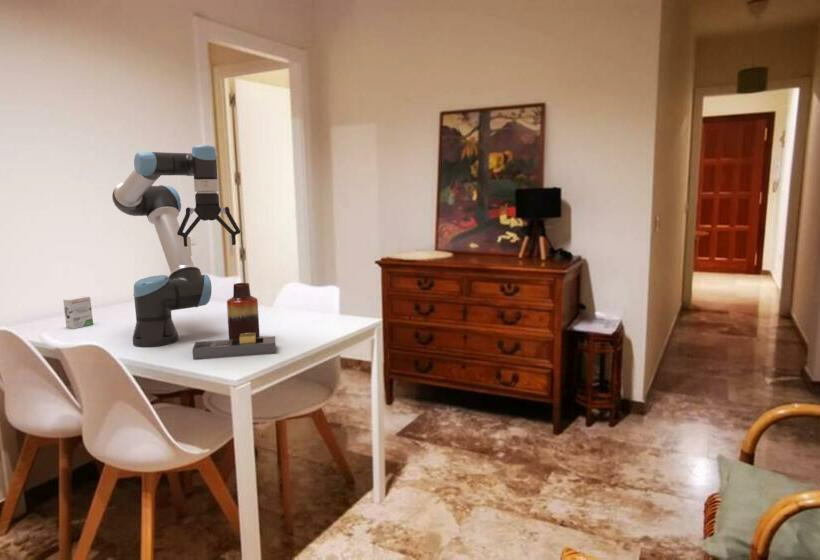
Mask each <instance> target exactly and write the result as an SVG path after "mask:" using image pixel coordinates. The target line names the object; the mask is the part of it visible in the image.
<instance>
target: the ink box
mask: <svg viewBox="0 0 820 560" xmlns="http://www.w3.org/2000/svg"><path fill="white" fill-rule="evenodd" d="M63 310H64V317H65V324H66V325H65V326H66V328H67V329H71V330H74V329H79V328H83V327H88V326H92V325H94V320H93V319H94V318H93V310H92V300H91V297H90V296H77V297H71V298H65V299H63Z"/></svg>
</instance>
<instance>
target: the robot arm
mask: <svg viewBox="0 0 820 560" xmlns="http://www.w3.org/2000/svg"><path fill="white" fill-rule="evenodd" d="M217 160H218V157H217V151H216V147H215V146H214V145H208V144H207V145H206V144H205V145H203V144H202V145H197V144H196V145H193V146H192V147H191V153H190V152H189V153H188V152H165V151H164V152H162V151H161V152H160V151H159V152H157V151H139V152H136V153H135V155H134V159H133V165H134V169H133V170H132V171H131V173H130V174H129V175H128V176H127V178H126V179H125V180H124V182H120V183H119V184H117V186H115V187H114V189H113V192H112V194H111V195H112V196H111V197H112V202H113V204H114V206H115V207H116V209H118V210H119V211H120V212H122V213H124V214H126V215H128V216H132V217H142V216H143V217H144V216H145V217H146V218H147V221H148V222H149V223H150V224H152V225H154V228H155V231H156V234H157V236H158V240H159V242H160V245H161V247H162V251H163V253H164V257H165V259H166V262H167V266H168V268H169V271H170V274H169V275H166V274H160V275H154V276H153V275H152V276H148V277H143V278H140V279H138V280H137V281H135V282H134V284H133V298H134V299H133V300H134V308H135V319H136V323H135V327H134V330H133V335H132V345H133V346H135V347H142V348H143V347H145V348H146V347H148V348H149V347H150V348H151V347H158V346H165V345H169V344H173V343H175V342H177V341H178V340H179V333H178V330H177V327H176V326H175V323H174V320H173V318H172V311H178V310H185V309H191V308H198V307H203V306H206V305H207V304H209V302H210V300H211V298H212V297H211V296H212V281H211V278H210V276H209V275H208V274H203V273H202V272H201V270H200V268H199V267H197V266H195V265H194V261H193V260H192V245H191V243H192V242H191V236H189V235H190V234H191V232H192V231H193V230H194V228H195V227H196V226H197V225H198V223H200V221H203V222H204V221H215V220H216V221H217V222H218V223H219V224H220V225H221V226H222V227H223V228H224V229H225V231H227V232H228V233H229V234H230V235H228V236H229V237H228V238H229V239H228V240H229V253H230V256H233V255H234V249H233V248H234V247H233V246H235V245H236V243H237V241H236V240H237V239H236V236H237V235H239V234H241V229H240V228H239V226H238V224H237V222H236V221H235V219H234V217H233V216H232V214H231V211H230V207H229V206H225V207H221V206H220V195H219V193H217V192H219V182H218V181H219V180H218V163H217ZM161 176H186V177H193V183H194V192H196V193H195V194H194V196H195V197H194V201H195V207H194V208H193V207H189V206H188V207H186V208H185V214H184V217H183V219H182V222H181V223H180V224H179V221H178V217H179V215H180V213H181V210H182V203H181V196H180V195H179V192H178V190H176V189H175V188H174V187H173V186H170V185H163V184H161V185H160V184H159V185H153V184H155V182H156V181H157V180H159V178H160V177H161ZM221 212H223V214H225V215H226V217H227V218H228V220H229V222H230V224H231V225H232V227H233V229H234V230H233V229H232V227H230V226H229V225H228V224H227V223H226V222H225V220H223V219H222V217H221V216H220V215H219V214H220V213H221ZM193 213H195V214H196V215H197V216H196V218H195V219H194V221H193V222H192V223H191V224H190V225H189V227H188V228H187V229H186V230H185V228H186V225H187V223H188V222H189V220H190V217H191V215H192V214H193ZM184 230H185V232H184Z"/></svg>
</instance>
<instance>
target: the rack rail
mask: <svg viewBox="0 0 820 560" xmlns="http://www.w3.org/2000/svg"><path fill="white" fill-rule="evenodd" d="M276 345H277V344H276V335H274V336H262V337H258V338H256V343H254V344H240V339H229V338H228V339H219V340H215V339H214V340H202V341H195V343H194V345H193V347H192V360H204V359H215V358H228V357H229V358H230V357H231V358H232V357H241V356H242V357H243V356H254V355H255V356H256V355H258V356H259V355H268V354H277V349H276V348H277V347H276Z"/></svg>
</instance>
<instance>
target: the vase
mask: <svg viewBox="0 0 820 560" xmlns="http://www.w3.org/2000/svg"><path fill="white" fill-rule="evenodd" d="M250 287H251V286H250V283H248V282H237V283H234V284H233V287H232V288H233V291H232V293H233V294H232V296H231V297H230V298H228V299H227V300H226V311H227V312H226V313H227V315H226V316H227V326H228V327H227V328H228V330H227V331H228V340H229V339H240V338H239V337H240V333H245V332H251V333H256V338H258V337H260V319H259V304H258V303H259V300H258V298H257V297H255V296H252V295H251V294H252V293H251V289H250Z"/></svg>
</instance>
